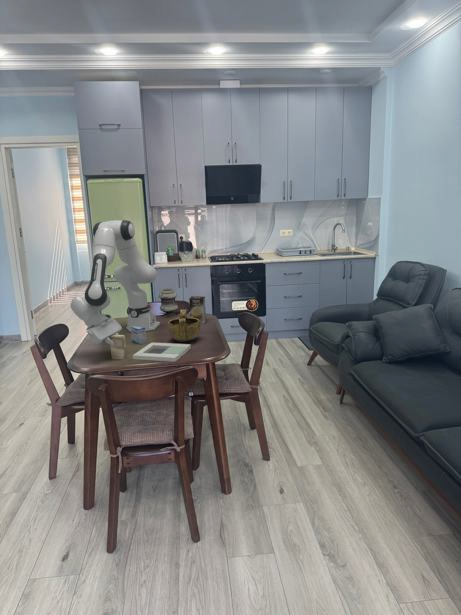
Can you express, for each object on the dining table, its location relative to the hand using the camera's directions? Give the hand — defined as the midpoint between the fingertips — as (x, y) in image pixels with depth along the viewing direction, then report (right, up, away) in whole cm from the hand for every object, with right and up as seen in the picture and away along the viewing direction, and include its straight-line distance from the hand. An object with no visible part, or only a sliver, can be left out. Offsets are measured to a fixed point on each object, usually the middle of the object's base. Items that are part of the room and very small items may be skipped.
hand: (117, 343), depth 202 cm
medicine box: (+5, -2, +25) cm, 25 cm away
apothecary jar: (+14, +12, +81) cm, 82 cm away
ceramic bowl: (+30, -1, +24) cm, 39 cm away
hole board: (+21, -6, +5) cm, 23 cm away
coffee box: (+35, +8, +61) cm, 70 cm away
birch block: (+1, -7, +2) cm, 7 cm away
